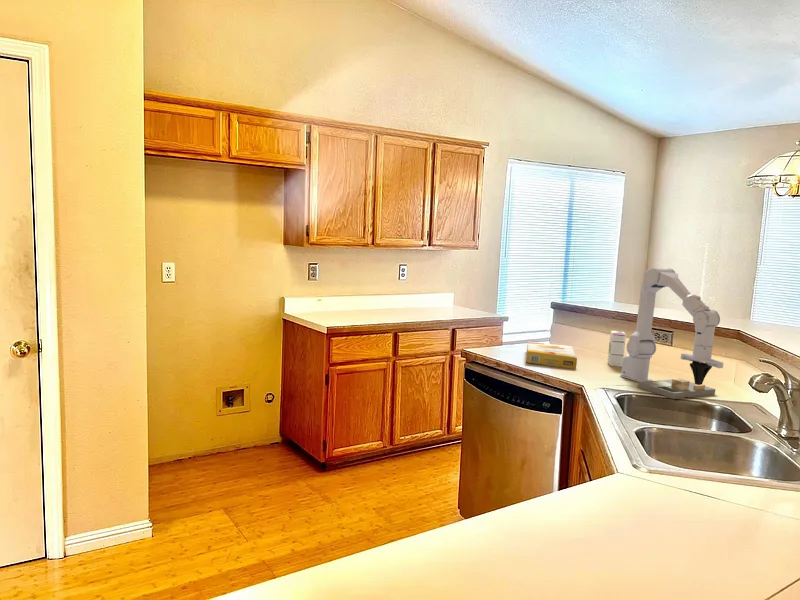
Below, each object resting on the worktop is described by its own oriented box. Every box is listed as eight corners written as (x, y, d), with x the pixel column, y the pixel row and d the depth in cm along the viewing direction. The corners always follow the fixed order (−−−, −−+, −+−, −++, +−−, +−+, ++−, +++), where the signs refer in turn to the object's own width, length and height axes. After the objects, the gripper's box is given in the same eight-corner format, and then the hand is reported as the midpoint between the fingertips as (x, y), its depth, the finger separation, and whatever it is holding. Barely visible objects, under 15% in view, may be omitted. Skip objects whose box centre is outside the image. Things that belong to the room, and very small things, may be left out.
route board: (637, 387, 215) (638, 378, 214) (678, 383, 225) (679, 374, 225) (673, 399, 202) (674, 389, 201) (714, 394, 212) (716, 385, 212)
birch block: (671, 387, 210) (672, 379, 210) (678, 386, 212) (679, 378, 212) (681, 390, 207) (682, 381, 206) (688, 389, 208) (689, 381, 208)
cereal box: (527, 350, 243) (527, 339, 270) (526, 364, 244) (525, 351, 271) (578, 357, 239) (572, 345, 267) (576, 370, 240) (571, 357, 267)
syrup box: (623, 367, 250) (626, 333, 248) (608, 365, 251) (612, 332, 249) (620, 364, 255) (624, 331, 254) (606, 362, 257) (610, 330, 255)
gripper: (730, 349, 197) (725, 388, 198) (691, 341, 210) (687, 378, 211) (717, 349, 194) (712, 390, 195) (678, 341, 206) (674, 379, 208)
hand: (698, 384), depth 203 cm, fingers closed
